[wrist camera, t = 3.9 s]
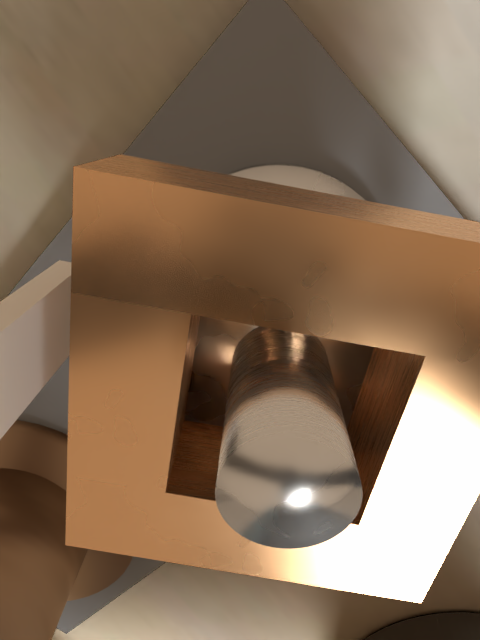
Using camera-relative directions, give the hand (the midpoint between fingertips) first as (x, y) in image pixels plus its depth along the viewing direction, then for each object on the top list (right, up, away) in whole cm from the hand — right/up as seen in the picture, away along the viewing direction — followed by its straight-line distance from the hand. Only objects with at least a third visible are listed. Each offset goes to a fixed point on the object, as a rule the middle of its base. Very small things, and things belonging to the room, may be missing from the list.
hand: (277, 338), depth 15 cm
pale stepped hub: (0, +2, +5) cm, 5 cm away
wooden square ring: (0, -1, -2) cm, 2 cm away
